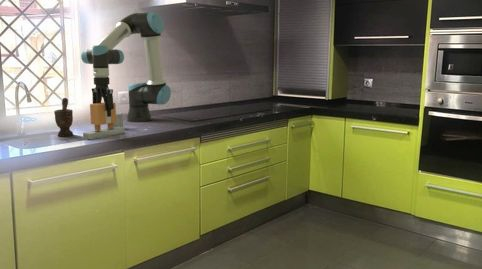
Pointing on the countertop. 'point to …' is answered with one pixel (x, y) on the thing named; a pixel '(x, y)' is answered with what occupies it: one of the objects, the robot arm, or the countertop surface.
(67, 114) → the mortar and pestle
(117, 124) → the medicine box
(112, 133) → the rail
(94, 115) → the orange block with prongs
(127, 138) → the countertop surface
